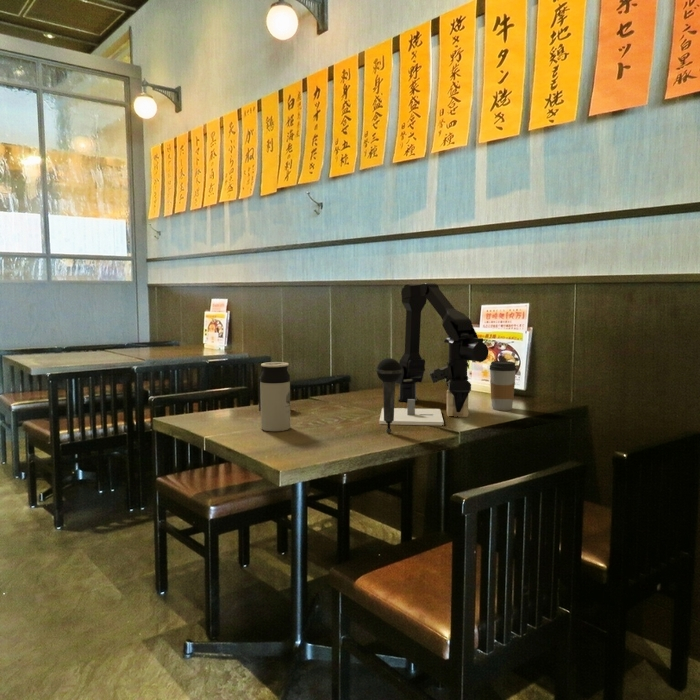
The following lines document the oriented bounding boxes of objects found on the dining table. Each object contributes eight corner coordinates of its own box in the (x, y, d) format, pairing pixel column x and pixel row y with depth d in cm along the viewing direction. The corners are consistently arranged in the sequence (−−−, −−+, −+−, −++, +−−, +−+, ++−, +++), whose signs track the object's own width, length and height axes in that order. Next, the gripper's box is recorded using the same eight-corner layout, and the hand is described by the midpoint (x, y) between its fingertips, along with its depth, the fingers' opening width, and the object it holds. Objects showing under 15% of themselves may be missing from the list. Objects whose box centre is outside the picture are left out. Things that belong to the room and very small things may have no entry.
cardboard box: (446, 412, 178) (446, 389, 177) (466, 412, 177) (466, 389, 176) (447, 416, 172) (448, 392, 171) (468, 416, 171) (468, 393, 170)
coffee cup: (516, 412, 178) (517, 364, 176) (488, 410, 180) (490, 363, 178) (514, 406, 186) (515, 361, 185) (488, 405, 188) (489, 360, 186)
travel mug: (255, 430, 154) (254, 364, 153) (270, 424, 162) (269, 361, 160) (282, 433, 152) (281, 366, 150) (295, 426, 159) (294, 362, 157)
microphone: (383, 437, 147) (383, 360, 145) (371, 431, 153) (371, 357, 151) (406, 434, 150) (407, 359, 148) (394, 429, 156) (394, 356, 154)
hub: (382, 411, 180) (382, 393, 179) (439, 412, 178) (440, 394, 177) (379, 424, 162) (379, 405, 161) (443, 425, 160) (443, 406, 160)
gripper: (429, 355, 183) (429, 403, 184) (432, 362, 164) (431, 415, 166) (465, 355, 182) (464, 403, 183) (471, 362, 163) (470, 416, 165)
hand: (457, 409), depth 174 cm, fingers open, 8 cm apart
